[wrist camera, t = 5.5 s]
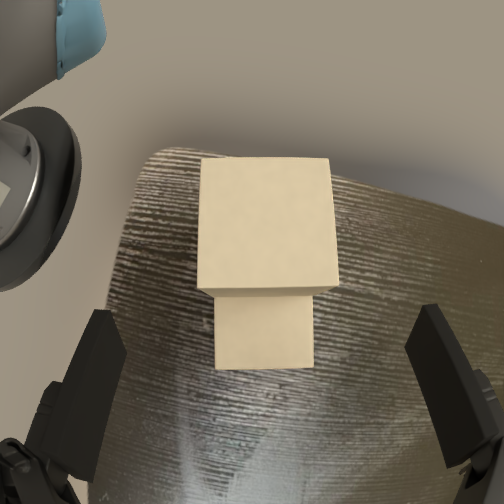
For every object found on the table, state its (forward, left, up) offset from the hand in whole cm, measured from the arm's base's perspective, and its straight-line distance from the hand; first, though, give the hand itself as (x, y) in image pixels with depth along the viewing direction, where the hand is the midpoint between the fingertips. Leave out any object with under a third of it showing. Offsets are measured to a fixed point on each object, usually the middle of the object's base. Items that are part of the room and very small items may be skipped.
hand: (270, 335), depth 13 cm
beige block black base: (-1, +3, -10) cm, 11 cm away
